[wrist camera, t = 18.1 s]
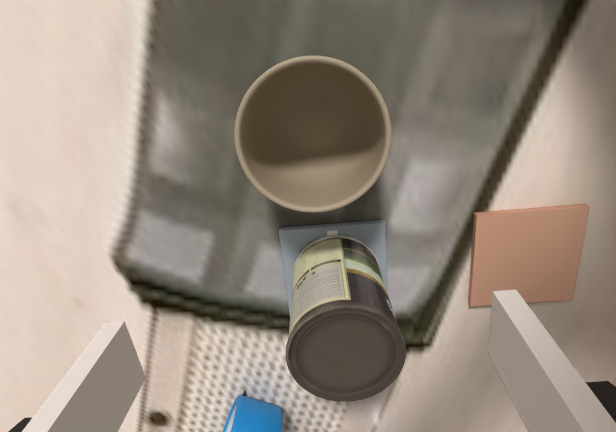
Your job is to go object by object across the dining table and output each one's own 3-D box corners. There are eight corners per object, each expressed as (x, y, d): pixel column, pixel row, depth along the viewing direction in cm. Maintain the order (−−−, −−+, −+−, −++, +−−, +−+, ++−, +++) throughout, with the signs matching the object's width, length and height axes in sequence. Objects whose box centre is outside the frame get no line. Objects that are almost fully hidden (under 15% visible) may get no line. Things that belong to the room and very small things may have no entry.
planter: (388, 68, 40) (411, 75, 30) (357, 185, 45) (369, 225, 35) (263, 41, 39) (245, 39, 29) (246, 163, 44) (225, 197, 34)
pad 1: (279, 227, 47) (278, 231, 46) (384, 219, 46) (385, 222, 45) (290, 314, 51) (290, 318, 51) (386, 308, 51) (387, 312, 50)
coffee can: (385, 236, 46) (415, 310, 33) (373, 312, 50) (396, 405, 37) (294, 230, 46) (288, 303, 33) (289, 307, 50) (283, 399, 37)
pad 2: (474, 212, 46) (476, 215, 45) (584, 204, 45) (589, 206, 44) (468, 302, 50) (470, 306, 49) (568, 296, 50) (572, 299, 49)
